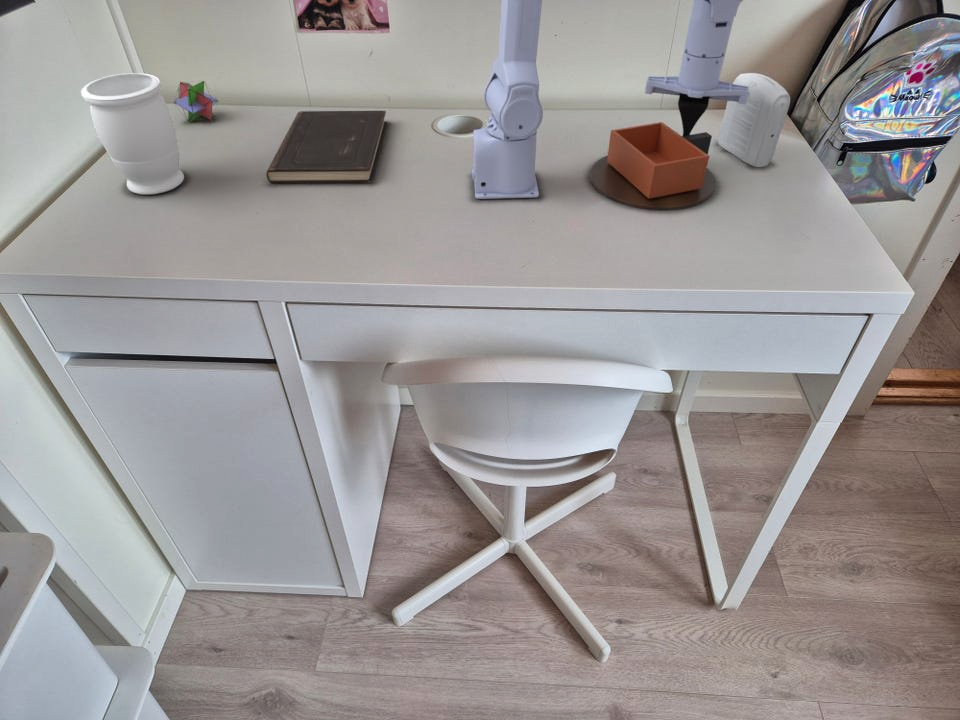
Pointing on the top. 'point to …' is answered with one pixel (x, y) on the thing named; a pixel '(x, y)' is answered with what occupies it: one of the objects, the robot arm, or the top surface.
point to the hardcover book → (329, 148)
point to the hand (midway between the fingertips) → (684, 143)
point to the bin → (659, 158)
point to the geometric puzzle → (195, 100)
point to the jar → (136, 130)
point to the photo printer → (755, 120)
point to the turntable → (628, 194)
